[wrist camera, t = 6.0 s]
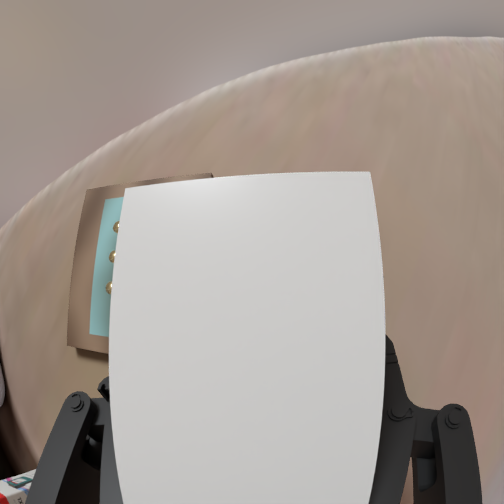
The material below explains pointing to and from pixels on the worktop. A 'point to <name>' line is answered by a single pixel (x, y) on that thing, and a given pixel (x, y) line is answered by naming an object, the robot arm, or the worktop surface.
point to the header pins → (112, 258)
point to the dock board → (98, 264)
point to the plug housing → (248, 340)
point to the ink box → (16, 488)
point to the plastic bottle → (1, 388)
